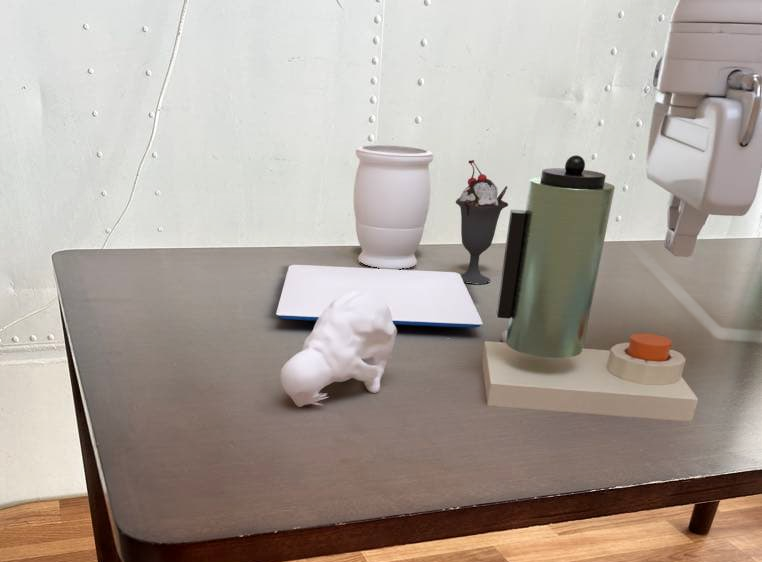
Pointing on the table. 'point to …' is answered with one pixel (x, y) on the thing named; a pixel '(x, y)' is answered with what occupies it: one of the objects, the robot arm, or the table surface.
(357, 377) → the white hunched creature figure
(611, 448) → the table surface
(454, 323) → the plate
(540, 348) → the kettle
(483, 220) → the sundae
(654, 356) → the kettle switch
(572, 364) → the kettle base
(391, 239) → the jar
